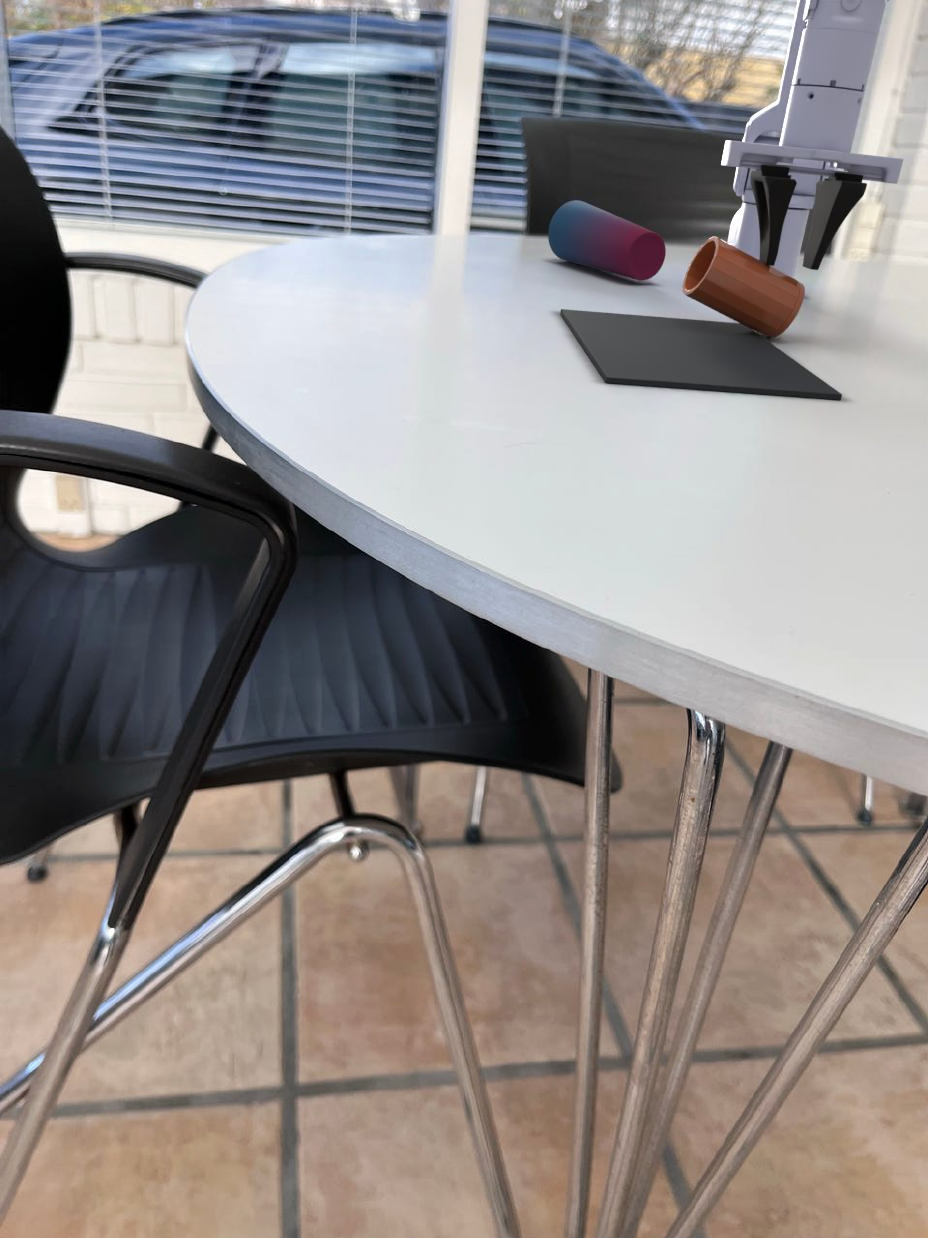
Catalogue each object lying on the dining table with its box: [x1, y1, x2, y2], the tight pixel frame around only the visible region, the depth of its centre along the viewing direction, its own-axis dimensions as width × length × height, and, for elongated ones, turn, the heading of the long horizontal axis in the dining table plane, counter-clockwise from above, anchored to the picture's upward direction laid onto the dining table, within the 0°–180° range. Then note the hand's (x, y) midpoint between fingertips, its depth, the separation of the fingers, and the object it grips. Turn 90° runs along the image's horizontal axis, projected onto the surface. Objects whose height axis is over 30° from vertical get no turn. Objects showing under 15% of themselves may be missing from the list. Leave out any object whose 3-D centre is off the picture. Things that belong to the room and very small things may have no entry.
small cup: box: [682, 235, 806, 339], centre depth 89 cm, size 5×5×9 cm
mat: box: [559, 308, 843, 401], centre depth 82 cm, size 24×17×1 cm
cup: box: [547, 199, 667, 281], centre depth 115 cm, size 7×7×15 cm
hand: (788, 266), depth 88 cm, fingers open, 3 cm apart
